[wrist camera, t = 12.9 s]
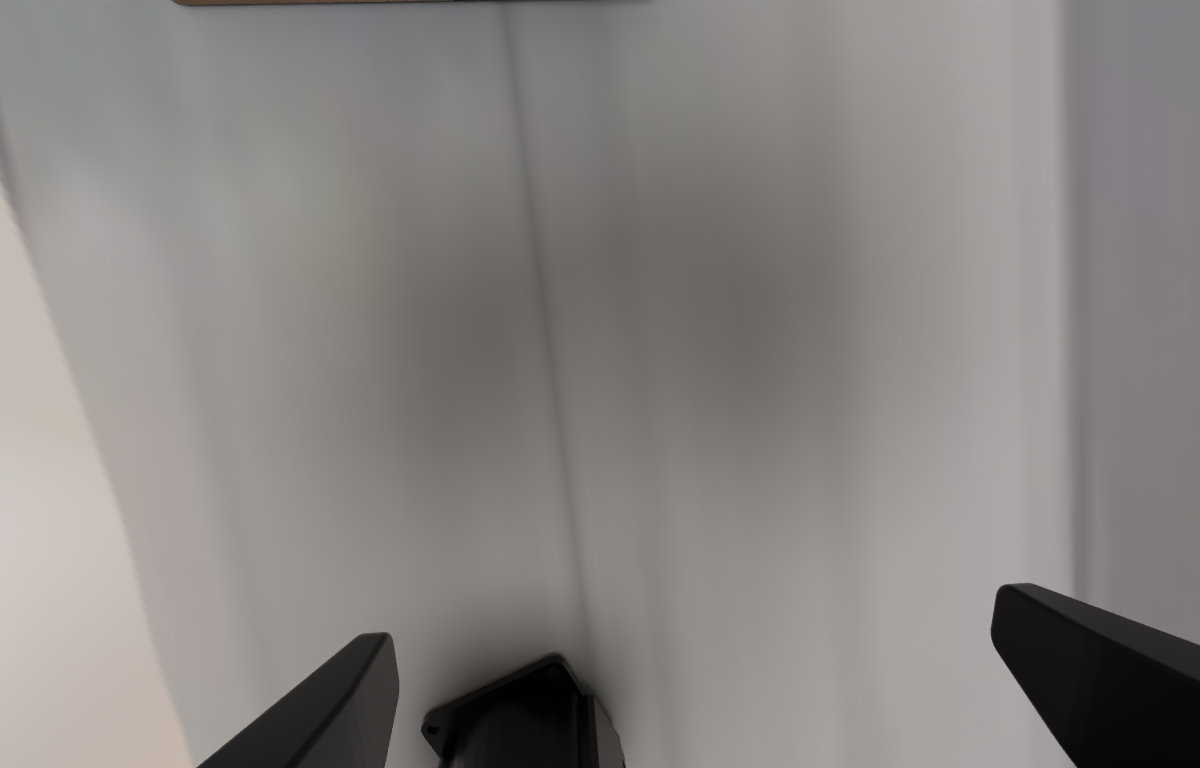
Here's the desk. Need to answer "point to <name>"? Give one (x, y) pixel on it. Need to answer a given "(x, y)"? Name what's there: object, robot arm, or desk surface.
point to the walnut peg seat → (276, 1)
